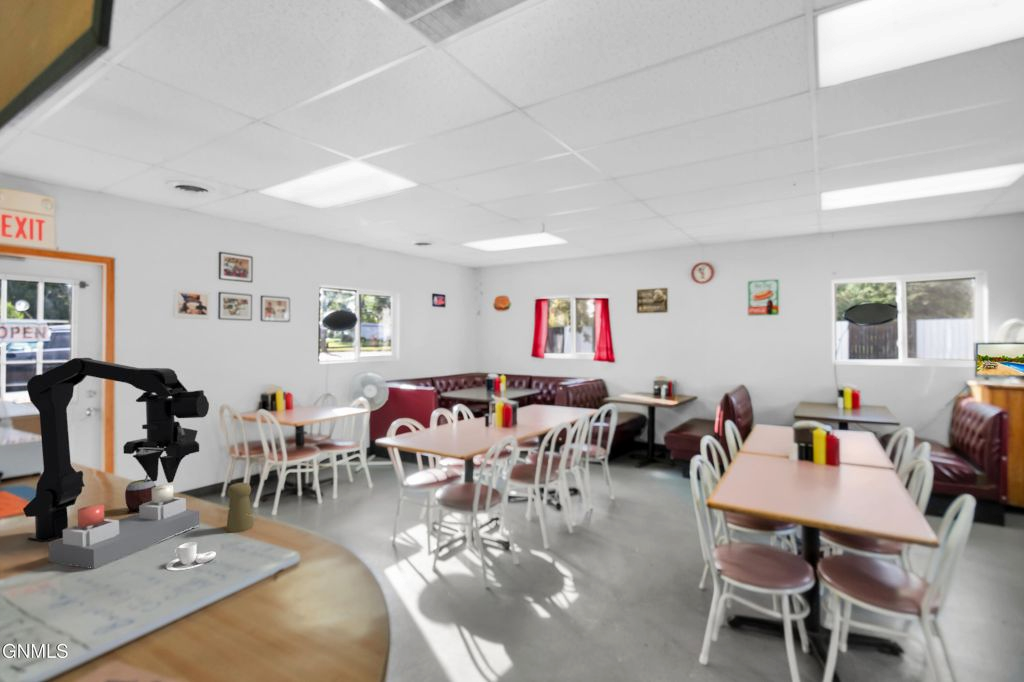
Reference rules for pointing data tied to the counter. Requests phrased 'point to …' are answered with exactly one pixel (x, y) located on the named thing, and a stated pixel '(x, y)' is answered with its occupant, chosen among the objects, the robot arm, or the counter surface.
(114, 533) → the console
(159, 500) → the cream plunger
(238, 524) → the cork
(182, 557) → the teacup and saucer
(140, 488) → the mate gourd
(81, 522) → the red plunger
